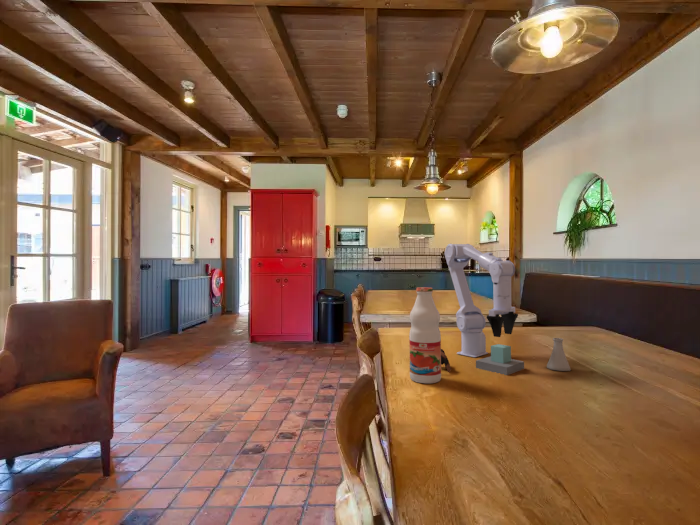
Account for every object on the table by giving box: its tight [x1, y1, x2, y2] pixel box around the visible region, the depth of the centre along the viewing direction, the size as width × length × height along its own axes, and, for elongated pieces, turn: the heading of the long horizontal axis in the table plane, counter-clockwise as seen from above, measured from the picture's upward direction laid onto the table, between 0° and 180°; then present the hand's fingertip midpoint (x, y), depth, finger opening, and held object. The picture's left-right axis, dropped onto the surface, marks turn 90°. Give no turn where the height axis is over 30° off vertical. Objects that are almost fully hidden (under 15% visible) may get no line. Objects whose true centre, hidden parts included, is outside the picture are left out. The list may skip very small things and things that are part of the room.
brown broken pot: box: [441, 348, 452, 373], centre depth 125 cm, size 12×10×8 cm
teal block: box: [490, 343, 512, 363], centre depth 125 cm, size 4×4×5 cm
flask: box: [546, 337, 571, 372], centre depth 124 cm, size 7×7×10 cm
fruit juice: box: [408, 286, 442, 384], centre depth 114 cm, size 9×9×28 cm
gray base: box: [475, 355, 525, 376], centre depth 125 cm, size 11×11×3 cm
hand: (502, 335), depth 128 cm, fingers open, 7 cm apart
